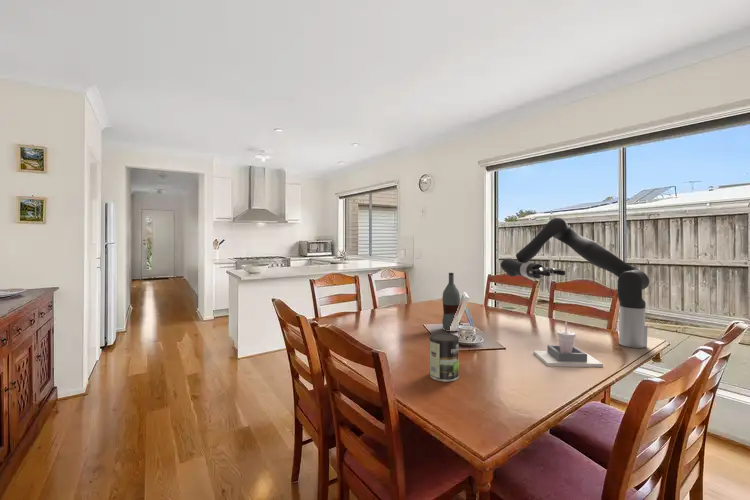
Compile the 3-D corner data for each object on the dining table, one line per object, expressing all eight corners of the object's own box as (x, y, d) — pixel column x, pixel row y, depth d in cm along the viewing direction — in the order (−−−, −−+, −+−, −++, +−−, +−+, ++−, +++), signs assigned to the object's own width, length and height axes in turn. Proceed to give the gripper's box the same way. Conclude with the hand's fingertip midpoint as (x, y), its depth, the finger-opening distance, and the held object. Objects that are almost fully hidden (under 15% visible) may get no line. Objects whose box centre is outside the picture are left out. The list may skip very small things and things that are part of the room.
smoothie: (573, 354, 141) (574, 320, 140) (576, 360, 135) (577, 324, 134) (555, 353, 143) (556, 319, 142) (558, 358, 137) (558, 323, 136)
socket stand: (583, 354, 145) (583, 344, 145) (602, 367, 131) (603, 355, 131) (533, 353, 146) (533, 343, 146) (547, 366, 132) (547, 355, 132)
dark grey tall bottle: (459, 333, 177) (459, 274, 176) (441, 331, 180) (441, 273, 179) (461, 328, 186) (461, 272, 185) (443, 327, 189) (443, 271, 188)
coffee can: (462, 373, 126) (462, 335, 125) (453, 384, 117) (453, 342, 117) (435, 368, 131) (435, 331, 131) (424, 378, 123) (424, 338, 122)
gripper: (520, 263, 174) (544, 265, 159) (543, 262, 178) (569, 264, 163) (519, 278, 175) (544, 282, 159) (543, 277, 179) (569, 280, 163)
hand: (557, 273), depth 161 cm, fingers open, 8 cm apart
